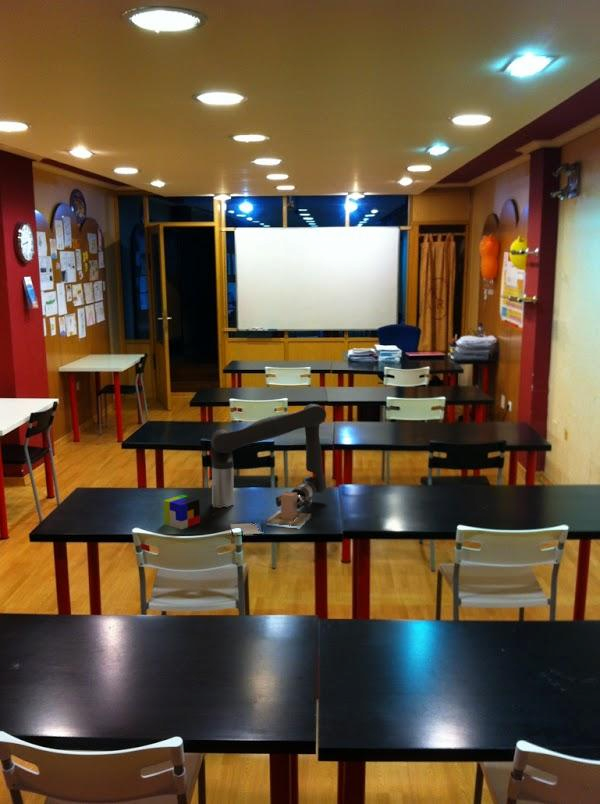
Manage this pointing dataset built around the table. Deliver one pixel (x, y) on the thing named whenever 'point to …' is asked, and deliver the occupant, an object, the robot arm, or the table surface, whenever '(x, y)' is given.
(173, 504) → the puzzle toy
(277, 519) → the puzzle board
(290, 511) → the terracotta block
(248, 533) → the grey pad
